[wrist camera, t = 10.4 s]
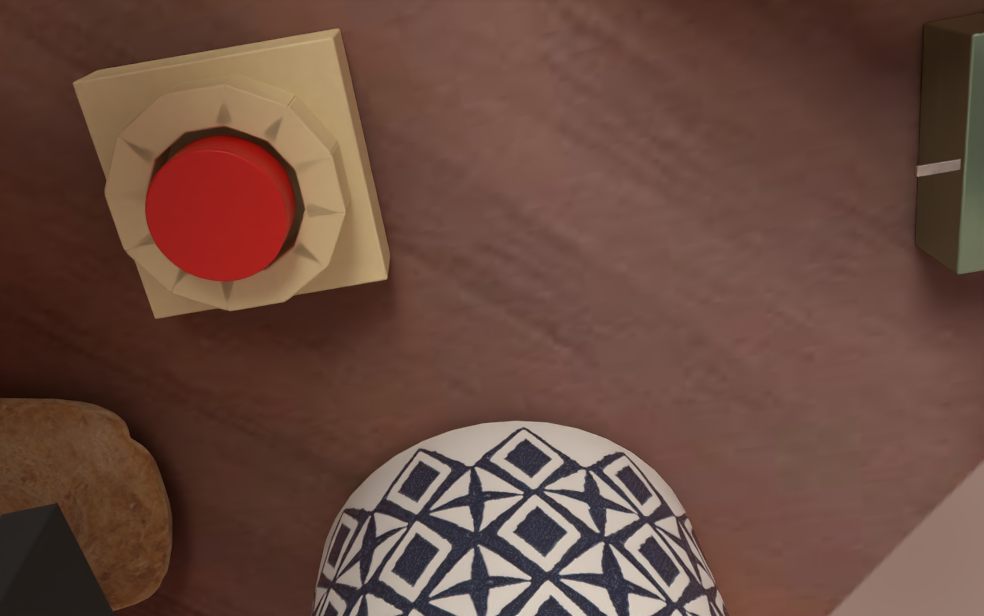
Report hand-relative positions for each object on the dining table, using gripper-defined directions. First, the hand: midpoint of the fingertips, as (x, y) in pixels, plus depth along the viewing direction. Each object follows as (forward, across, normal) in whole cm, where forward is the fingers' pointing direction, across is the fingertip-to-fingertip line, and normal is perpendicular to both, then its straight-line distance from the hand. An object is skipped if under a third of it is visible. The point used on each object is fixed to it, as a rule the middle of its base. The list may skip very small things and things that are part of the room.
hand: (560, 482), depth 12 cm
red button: (+17, -8, 0) cm, 18 cm away
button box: (+20, -8, 0) cm, 22 cm away
